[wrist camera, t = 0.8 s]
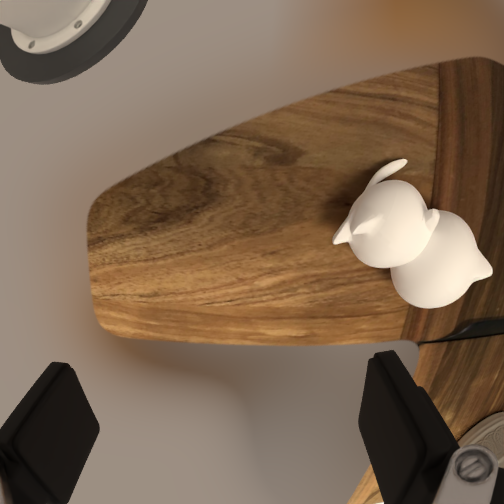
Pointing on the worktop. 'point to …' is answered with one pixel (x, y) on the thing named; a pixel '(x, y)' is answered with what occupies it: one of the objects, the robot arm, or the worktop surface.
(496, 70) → the worktop surface
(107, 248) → the worktop surface
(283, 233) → the worktop surface
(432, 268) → the cat figurine
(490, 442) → the jar
